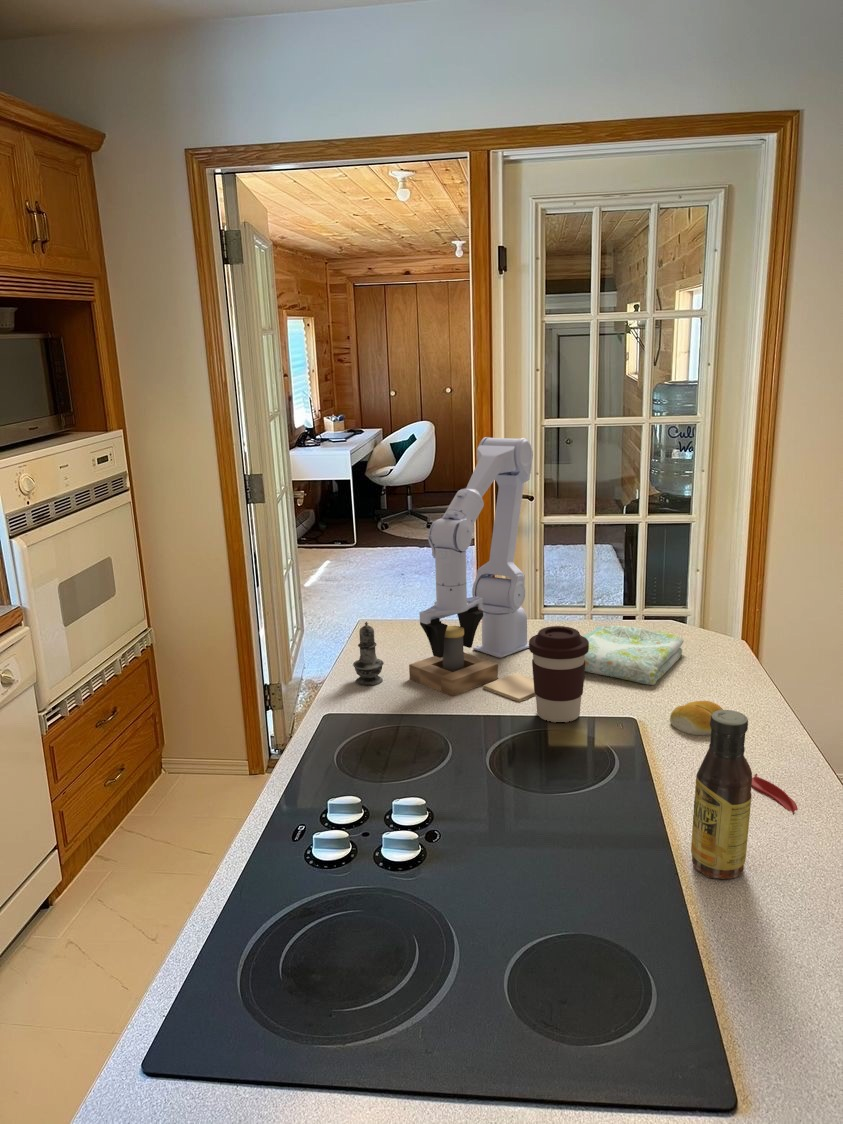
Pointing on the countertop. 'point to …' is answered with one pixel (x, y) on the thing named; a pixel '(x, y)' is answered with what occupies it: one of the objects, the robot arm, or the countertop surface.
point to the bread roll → (694, 717)
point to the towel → (631, 653)
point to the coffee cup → (558, 672)
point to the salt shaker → (368, 659)
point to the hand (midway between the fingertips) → (452, 651)
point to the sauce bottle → (722, 799)
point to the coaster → (513, 687)
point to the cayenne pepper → (774, 793)
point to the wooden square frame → (453, 674)
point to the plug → (453, 649)
